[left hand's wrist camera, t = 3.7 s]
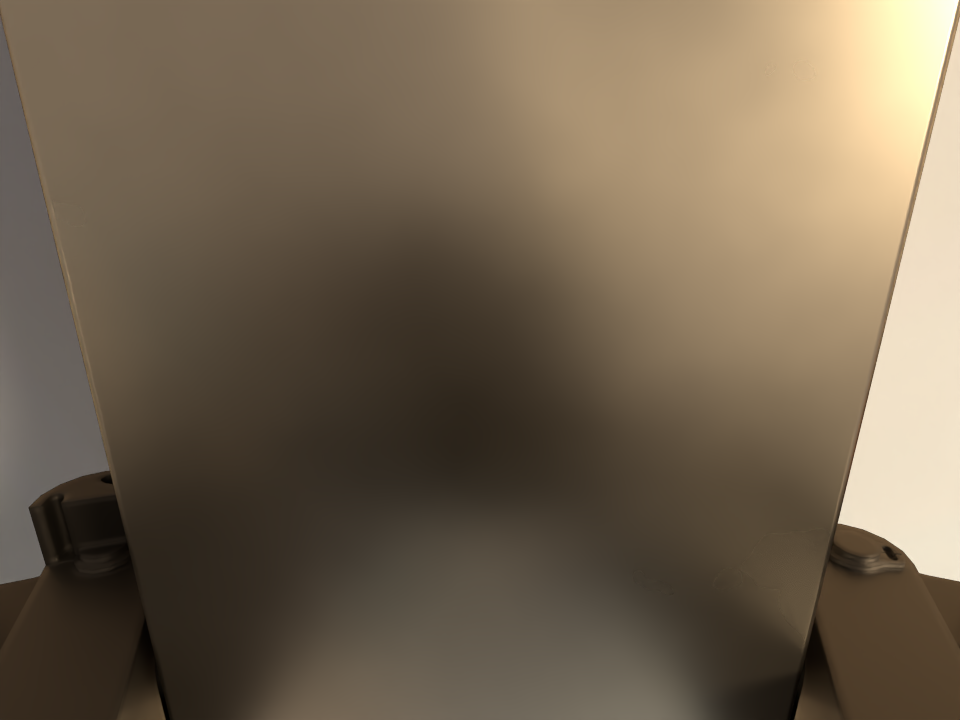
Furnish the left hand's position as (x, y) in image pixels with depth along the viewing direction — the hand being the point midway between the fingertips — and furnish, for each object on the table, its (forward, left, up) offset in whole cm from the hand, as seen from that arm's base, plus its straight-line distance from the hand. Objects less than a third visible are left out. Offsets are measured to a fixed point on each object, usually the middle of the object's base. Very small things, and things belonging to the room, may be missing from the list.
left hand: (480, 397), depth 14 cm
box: (+5, +9, -1) cm, 11 cm away
